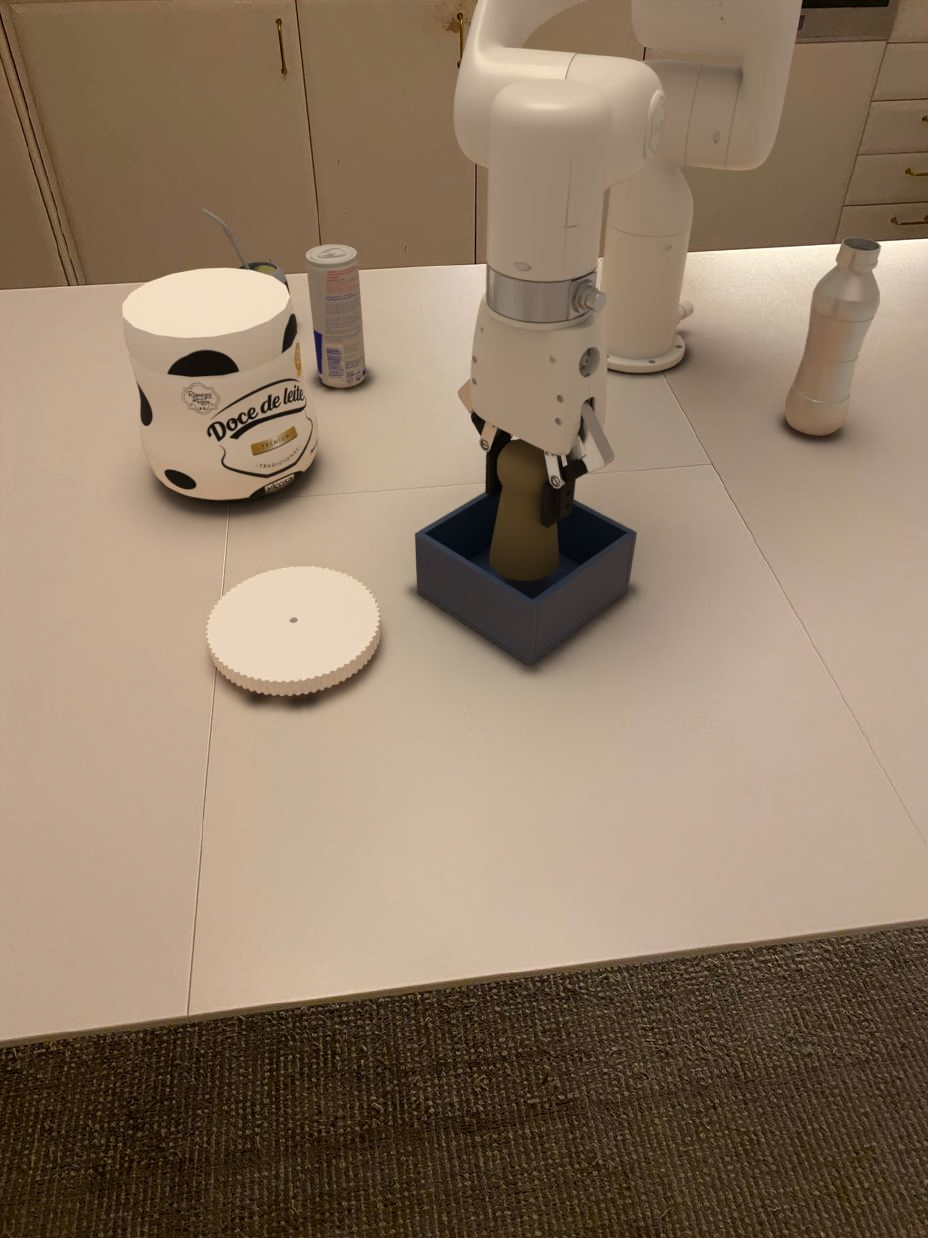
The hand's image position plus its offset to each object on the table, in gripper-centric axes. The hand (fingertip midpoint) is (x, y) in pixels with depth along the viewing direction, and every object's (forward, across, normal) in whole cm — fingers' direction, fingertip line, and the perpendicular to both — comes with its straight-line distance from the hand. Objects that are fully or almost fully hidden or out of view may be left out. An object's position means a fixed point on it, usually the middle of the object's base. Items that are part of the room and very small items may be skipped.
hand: (527, 502), depth 77 cm
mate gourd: (+10, +58, -15) cm, 61 cm away
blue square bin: (+10, 0, 0) cm, 10 cm away
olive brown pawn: (+6, 0, 0) cm, 6 cm away
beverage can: (+10, +41, -14) cm, 44 cm away
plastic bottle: (+10, -4, -43) cm, 44 cm away
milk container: (+10, +34, +6) cm, 36 cm away
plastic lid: (+10, +9, +18) cm, 22 cm away
